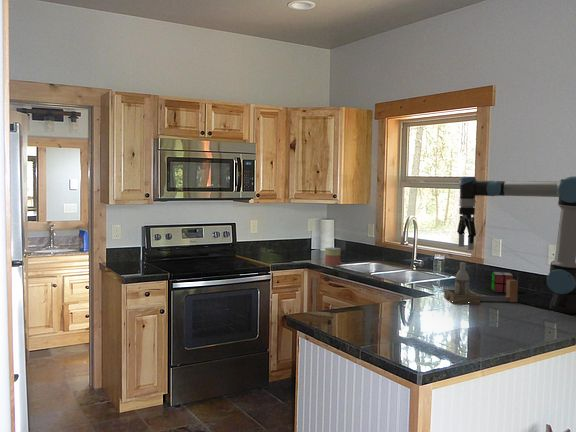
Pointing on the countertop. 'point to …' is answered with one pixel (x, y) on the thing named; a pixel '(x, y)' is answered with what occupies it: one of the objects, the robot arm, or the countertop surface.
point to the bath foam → (462, 281)
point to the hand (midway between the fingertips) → (465, 248)
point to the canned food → (332, 256)
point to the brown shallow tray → (462, 297)
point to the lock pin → (510, 293)
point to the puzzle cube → (500, 281)
